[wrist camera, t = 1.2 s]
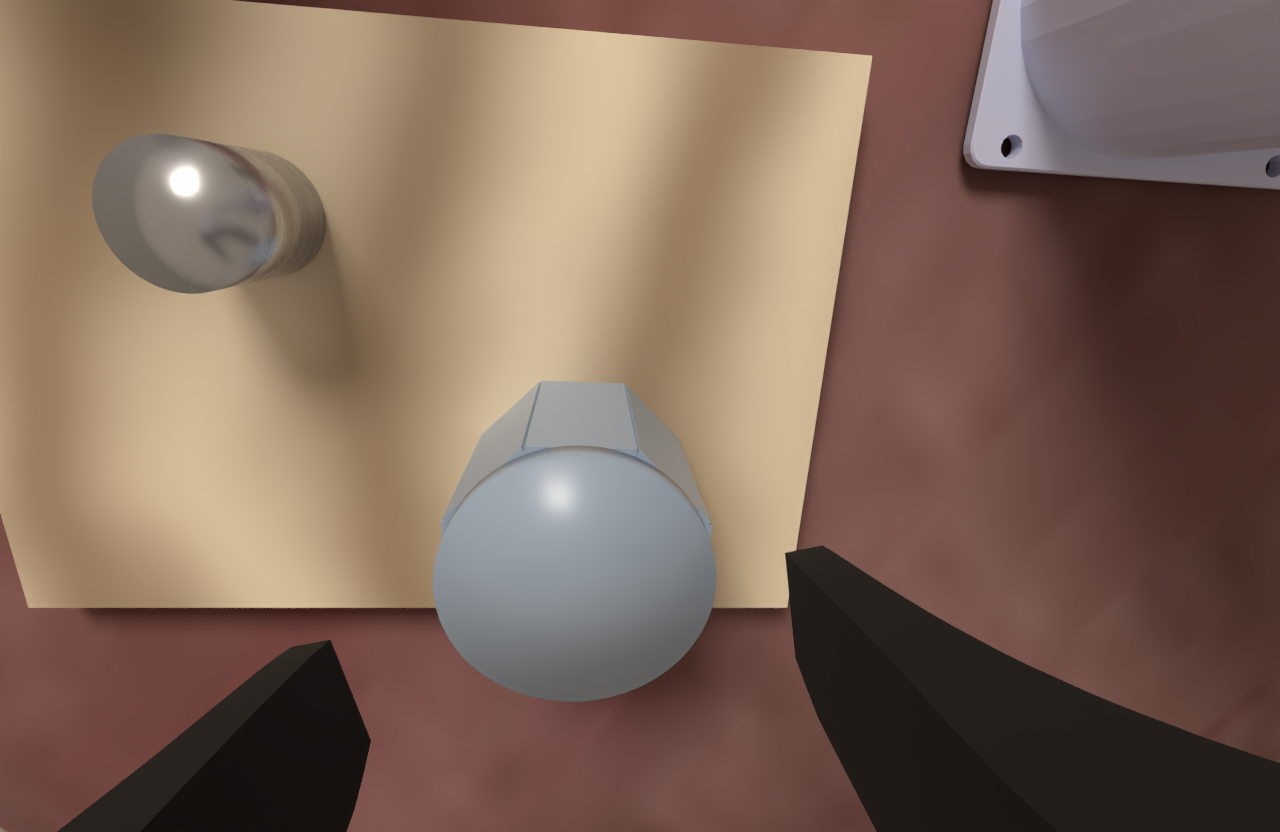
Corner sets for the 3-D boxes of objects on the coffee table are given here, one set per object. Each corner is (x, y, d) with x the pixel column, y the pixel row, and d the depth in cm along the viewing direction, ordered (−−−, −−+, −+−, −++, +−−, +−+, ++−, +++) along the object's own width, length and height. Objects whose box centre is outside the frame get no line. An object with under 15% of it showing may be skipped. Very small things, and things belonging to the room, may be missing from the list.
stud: (319, 154, 13) (245, 139, 10) (332, 279, 14) (266, 297, 11) (188, 145, 13) (76, 127, 10) (209, 273, 14) (110, 290, 11)
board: (850, 67, 14) (872, 55, 13) (775, 583, 19) (787, 607, 18) (-96, -12, 13) (-164, -34, 11) (66, 581, 17) (28, 607, 16)
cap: (686, 383, 15) (730, 461, 11) (671, 562, 17) (703, 700, 12) (477, 376, 15) (425, 454, 10) (482, 561, 16) (439, 703, 12)
